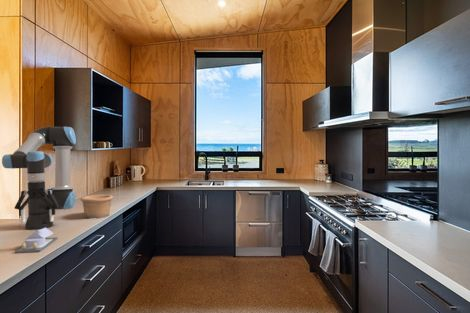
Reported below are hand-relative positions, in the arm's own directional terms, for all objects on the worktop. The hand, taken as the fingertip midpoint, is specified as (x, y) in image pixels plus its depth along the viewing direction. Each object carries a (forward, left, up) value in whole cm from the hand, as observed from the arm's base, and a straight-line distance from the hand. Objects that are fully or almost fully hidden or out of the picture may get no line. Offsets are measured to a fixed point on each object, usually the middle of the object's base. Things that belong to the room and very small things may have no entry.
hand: (37, 221), depth 159 cm
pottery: (-66, +11, -13) cm, 68 cm away
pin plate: (0, 0, -13) cm, 12 cm away
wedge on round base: (0, 0, -12) cm, 12 cm away
